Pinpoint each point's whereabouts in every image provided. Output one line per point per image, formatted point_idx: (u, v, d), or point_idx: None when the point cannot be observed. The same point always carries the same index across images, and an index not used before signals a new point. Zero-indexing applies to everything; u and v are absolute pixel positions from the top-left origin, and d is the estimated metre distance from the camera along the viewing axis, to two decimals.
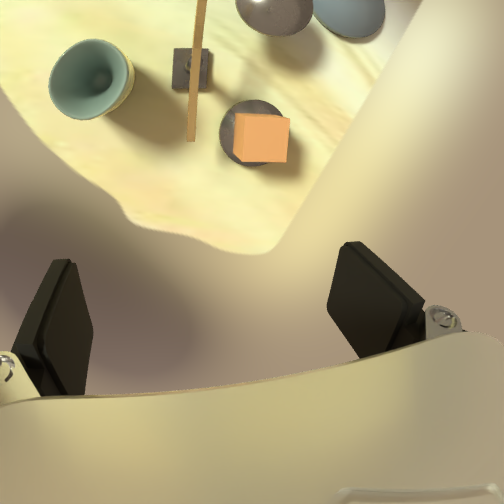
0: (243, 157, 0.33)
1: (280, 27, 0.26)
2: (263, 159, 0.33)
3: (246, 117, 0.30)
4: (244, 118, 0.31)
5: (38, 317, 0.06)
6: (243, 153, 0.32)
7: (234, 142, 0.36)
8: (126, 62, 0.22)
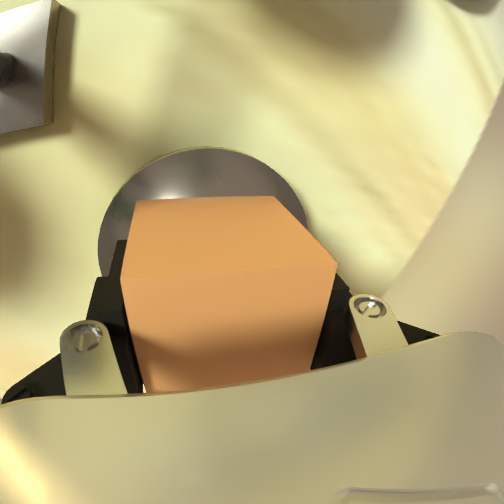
0: None
1: None
2: None
3: (128, 284, 0.06)
4: None
5: (119, 288, 0.07)
6: None
7: None
8: None
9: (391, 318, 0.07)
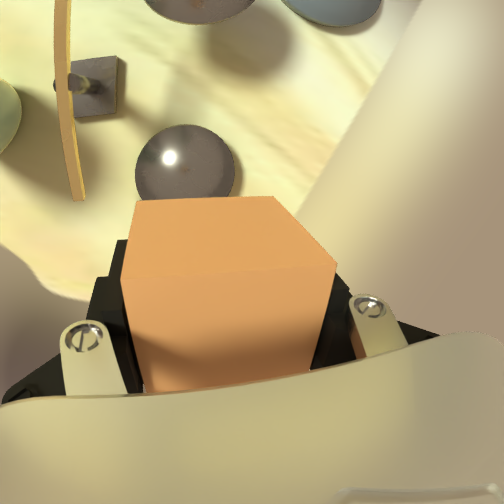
0: None
1: (207, 9, 0.15)
2: None
3: (128, 284, 0.06)
4: None
5: (119, 287, 0.07)
6: None
7: None
8: None
9: (391, 318, 0.07)
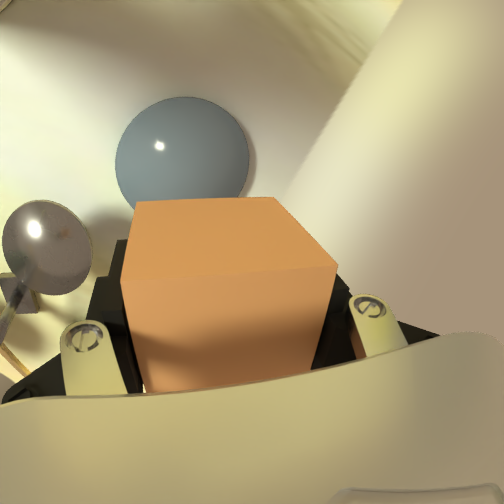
0: None
1: (59, 284, 0.23)
2: None
3: (128, 286, 0.06)
4: None
5: (119, 287, 0.07)
6: None
7: None
8: None
9: (391, 318, 0.07)
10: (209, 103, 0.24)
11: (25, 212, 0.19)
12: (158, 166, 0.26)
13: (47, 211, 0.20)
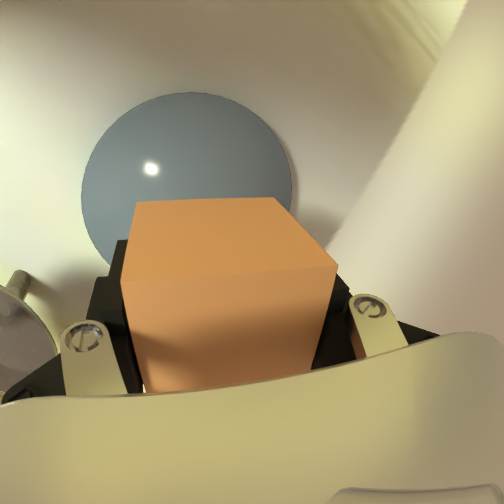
0: None
1: None
2: None
3: (128, 286, 0.06)
4: None
5: (119, 287, 0.07)
6: None
7: None
8: None
9: (391, 318, 0.07)
10: (232, 103, 0.15)
11: None
12: None
13: None
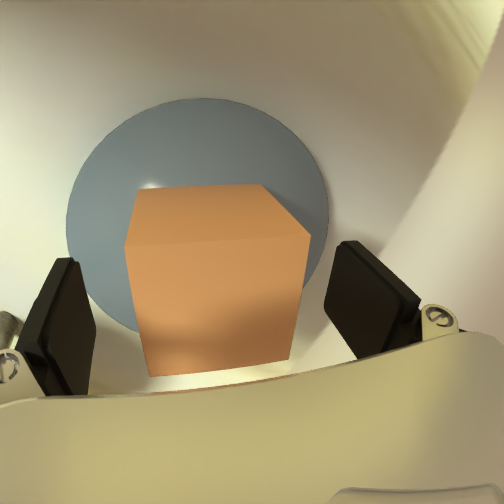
0: (150, 367, 0.10)
1: None
2: (216, 365, 0.10)
3: (131, 251, 0.07)
4: None
5: (42, 315, 0.06)
6: (148, 358, 0.09)
7: None
8: None
9: (455, 330, 0.07)
10: (259, 114, 0.11)
11: None
12: None
13: None
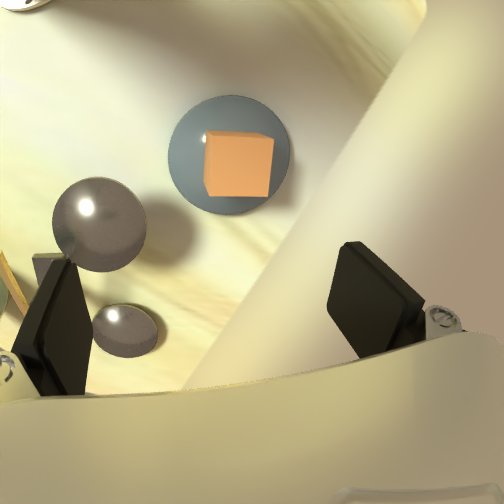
0: (210, 190, 0.25)
1: (108, 261, 0.25)
2: (237, 193, 0.26)
3: (214, 137, 0.23)
4: (212, 138, 0.23)
5: (38, 317, 0.06)
6: (210, 185, 0.25)
7: (204, 168, 0.29)
8: None
9: (459, 331, 0.07)
10: (258, 103, 0.27)
11: (82, 187, 0.22)
12: None
13: (106, 188, 0.22)
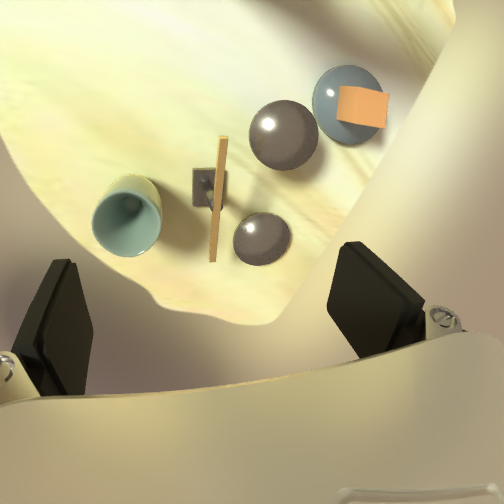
0: (356, 120, 0.36)
1: (288, 161, 0.36)
2: (370, 124, 0.36)
3: (360, 88, 0.34)
4: (358, 88, 0.34)
5: (38, 317, 0.06)
6: (356, 116, 0.36)
7: (339, 110, 0.39)
8: (159, 212, 0.32)
9: (459, 332, 0.07)
10: (368, 73, 0.38)
11: (280, 105, 0.33)
12: None
13: (296, 108, 0.33)
